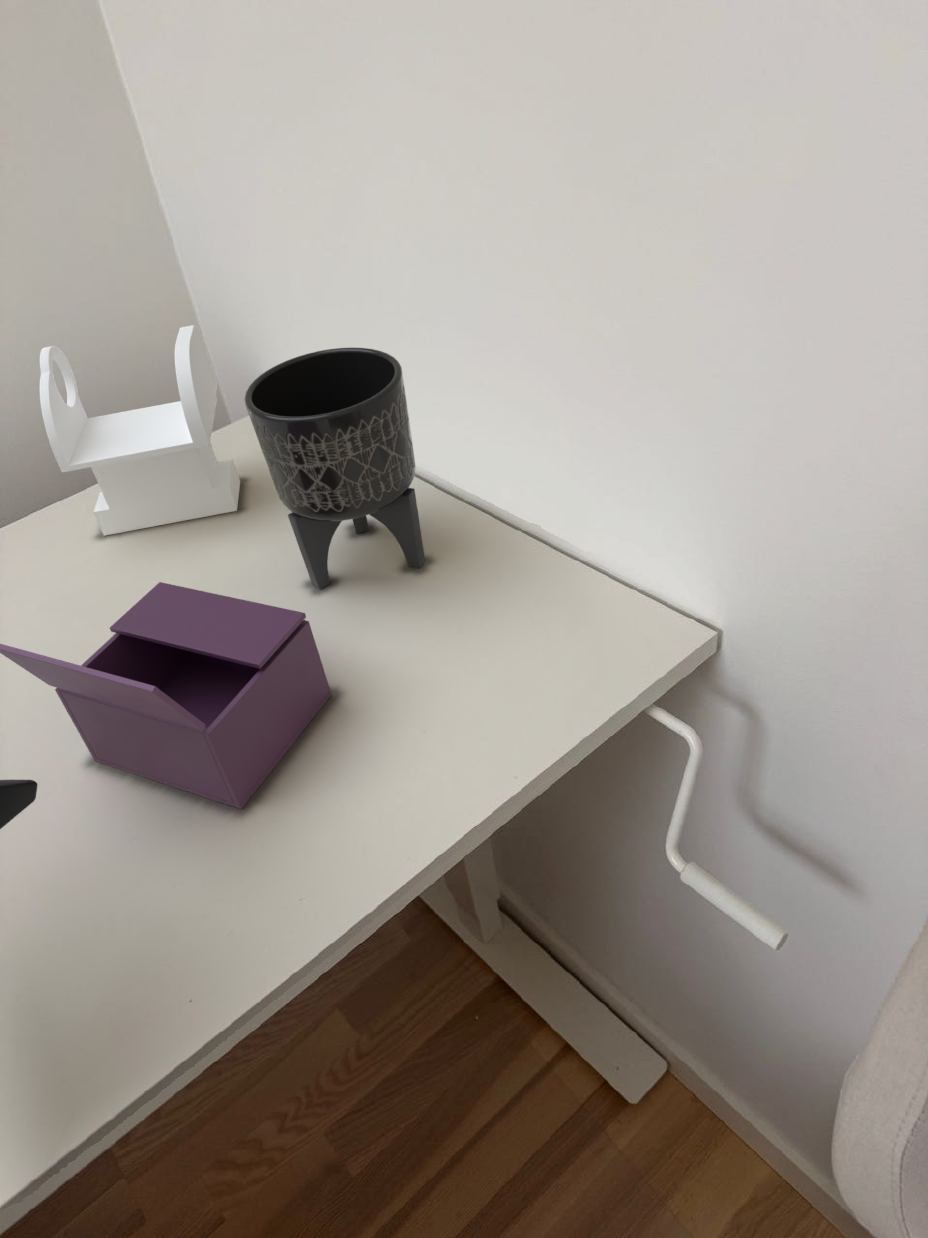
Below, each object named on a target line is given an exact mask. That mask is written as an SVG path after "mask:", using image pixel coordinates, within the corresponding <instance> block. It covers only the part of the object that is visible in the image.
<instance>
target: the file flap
mask: <svg viewBox="0 0 928 1238" xmlns="http://www.w3.org/2000/svg"><path fill="white" fill-rule="evenodd" d="M0 654H1V655H3V657H5V658H7V659H8V660H10V661H12V662H13V663H15V664H16V665H18V666H19V667H21V668H22V669H24V670H25V671H27V672H28V673H30V674H31V675H33V676H34V677H36V678H38V679H39V680H40V681H42V682H44V683H45V684H47V685H48V686H50V687H53V688H60V689H63V690H67V691H70V692H74V693H77V694H81V695H84V696H87V697H91V698H94V699H98V700H101V701H105V702H108V703H111V704H115V705H118V706H122V707H125V708H129V709H132V710H135V711H139V712H142V713H146V714H149V715H153V716H156V717H159V718H163V719H166V720H170V721H173V722H176V723H180V724H183V725H187V726H190V727H194V728H197V729H200V730H203V729H204V727H205V724H204V723H203V722H201V721H200V720H199V719H197V718H196V717H195V716H193V715H192V714H191V713H190V712H188V711H187V710H186V709H184V708H183V707H182V706H180V705H179V704H178V703H177V702H175V701H174V700H173V699H171V698H170V697H169V696H167V695H166V694H165V693H163V692H162V691H161V690H160V689H158V688H157V687H156V686H153V685H149V684H145V683H142V682H138V681H134V680H131V679H127V678H124V677H120V676H116V675H113V674H109V673H105V672H102V671H98V670H94V669H91V668H87V667H83V666H81V665H80V664H77V663H73V662H68V661H65V660H62V659H58V658H54V657H51V656H46V655H43V654H39V653H35V652H32V651H29V650H25V649H22V648H17V647H15V646H10V645H7V644H4V643H0Z"/></svg>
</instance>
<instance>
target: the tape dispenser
mask: <svg viewBox="0 0 928 1238" xmlns="http://www.w3.org/2000/svg"><path fill="white" fill-rule="evenodd" d="M174 344H175V345H174V369H175V377H176V383H177V389H178V394H179V400H178V401H173V402H167V403H163V404H158V405H152V406H147V407H141V408H136V409H130V410H125V411H124V410H123V411H120V412H115V413H108V414H104V415H99V416H93V417H88V415H87V413H86V410H85V408H84V406H83V404H82V401H81V399H80V394H79V389H78V385H77V384H78V383H77V380H76V377H75V374H74V372H73V371H74V370H73V368H72V366H71V364H70V362H69V359H68V358H67V356H66V354H65V353H64V351H63V350H61V348H60V347H58V346H56V345H50V346H45V347H43V348H42V349H41V350H40V352H39V371H40V377H39V402H40V410H41V415H42V421H43V425H44V430H45V432H46V437H47V439H48V443H49V445H50V449H51V450H52V453H53V455H54V458H55V460H56V463H57V465H58V467H59V469H60V471H61V473H67V472H73V471H78V470H83V469H89V468H90V469H91V470H92V473H93V475H94V477H95V480H96V482H97V484H98V486H99V489H100V490H99V491H100V492H99V494H98V497H97V501H96V503H95V506H94V509H93V515H94V517H95V519H96V521H97V524H98V526H99V528H100V530H101V533H102V535H103V537H104V536H109V535H116V534H120V533H126V532H130V531H136V530H142V529H147V528H152V527H157V526H162V525H169V524H173V523H179V522H185V521H189V520H195V519H200V518H206V517H211V516H217V515H220V514H226V513H227V514H228V513H232V512H237V511H238V505H239V496H240V488H241V480H240V477H239V474H238V471H237V468H236V465H235V461H234V459H233V458H229V459H223V460H217V457H216V453H215V451H214V448H213V445H212V443H211V438H212V434H213V427H214V423H215V422H214V421H215V416H216V412H217V411H216V410H217V404H218V396H217V391H218V390H217V389H218V384H219V382H218V379H217V376H216V372H215V369H214V366H213V363H212V360H211V357H210V355H209V351H208V348H207V345H206V341H205V339H204V336H203V334H202V331H201V329H200V328H199V326H198V325H197V324H191V325H186V326H181V327H179V329H178V333H177V336H176V340H175V343H174ZM54 362H55V364H56V365H57V367H58V369H59V371H60V373H61V376H62V378H63V379H62V380H63V382H64V385H65V386H64V387H65V390H66V402H65V401H64V399H63V396H62V395H61V393H60V390H59V389H58V388H59V387H58V385H57V382H56V379H55V375H54V367H53V365H54V364H53V363H54Z"/></svg>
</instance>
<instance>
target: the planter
mask: <svg viewBox="0 0 928 1238" xmlns="http://www.w3.org/2000/svg"><path fill="white" fill-rule="evenodd" d="M404 382H405V381H404V375H403V368H402V365H401V364H400V362H399V361H398V360H397V359H396V357H394V356H393V355H391V354H390V353H387V352H384V351H382V350H378V349H374V348H367V347H352V346H351V347H337V348H328V349H322V350H318V351H317V350H316V351H313V352H309V353H304V354H303V355H298V356H296V357H292V358H290V359H287V360H285V361H283V362H281V363H278V364H276V365H275V366H272V367H271V368H269V369H267V370H266V371H264V372H262V373H261V374H260V375H259V376H258V377H256V378H255V379H254V380H253V381H252V382H251V384H250V385H249V386H248V388H247V389H246V391H245V394H244V404H245V405H244V406H245V408H246V410H247V413H248V416H249V419H250V422H251V425H252V427H253V430H254V433H255V436H256V439H257V441H258V444H259V446H260V449H261V452H262V455H263V458H264V460H265V463H266V466H267V468H268V471H269V474H270V477H271V480H272V482H273V485H274V488H275V490H276V494H277V496H278V498H279V500H280V502H281V503H282V505H284V507H285V508H286V509H287V510H289V514H287V517H288V519H289V523H290V525H291V529H292V531H293V535H294V537H295V540H296V543H297V545H298V548H299V551H300V554H301V557H302V559H303V562H304V565H305V567H306V570H307V573H308V576H309V579H310V582H311V584H312V585H313V586H314V587H315V588H316V589H318V590H321V589H324V588H325V587H328V586H329V585H330V584H331V582H330V576H329V568H328V566H329V565H328V560H329V550H330V546H331V543H332V540H333V537H334V535H335V532H336V531H337V530H338V527H339V526H340V524H341V523H342V521H343V522H344V521H348V520H352V522H353V528H354V531H355V533H356V534H359V533H360V534H361V533H365V532H369V531H370V526H369V525H370V524H369V521H368V517H367V516H370V517H372V518H373V519H375V520H377V521H378V522H379V523H381V524H382V525H383V526H384V527H386V529H388V530H389V532H390V533H391V534H392V535H393V536H394V538H395V540H396V541H397V543H398V544H399V546H400V548H401V550H402V552H403V555H404V559H405V560H406V564H407V567H408V568H413V569H421V568H422V566H423V565H424V563H425V562H426V556H425V549H424V543H423V536H422V529H421V523H420V516H419V511H418V504H417V503H418V502H417V497H416V491H415V490H416V489H415V487H411V485H412V483H413V480H414V479H415V474H416V459H415V453H414V445H413V439H412V431H411V423H410V417H409V409H408V404H407V395H406V388H405V383H404Z"/></svg>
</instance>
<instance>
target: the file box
mask: <svg viewBox="0 0 928 1238" xmlns="http://www.w3.org/2000/svg"><path fill="white" fill-rule="evenodd" d="M306 618H307V615H306V613H305V612H302V611H297V610H293V609H287V608H283V607H279V606H274V605H269V604H265V603H260V602H255V601H250V600H247V599H246V600H245V599H241V598H236V597H232V596H228V595H223V594H218V593H213V592H208V591H205V590H199V589H194V588H190V587H185V586H180V585H175V584H170V583H166V582H162V581H159V582H158V583H157V584H155V585H154V587H152V589H150V590H149V591H148V592H146V594H144V595H143V597H142V598H140V599H139V600H138V601H137V602H136V603H134V605H132V607H131V608H129V609H128V610H127V611H126V612H125V613H124V614H122V616H120V618H119V619H117V620H116V621H115V622H114V623H113V624H112V625H111V626H110V627H109V630H110V632H111V633H114V634H113V635H112V636H111V637H110V638H109V639H108V640H107V641H105V643H103V644H102V645H101V646H100V647H99V648H98V649H97V650H96V651H95V652H94V653H92V655H90V657H88V659H86V660H85V661H84V662H83V663H82V664H81V665H80V666H83V667H87V668H91V669H94V670H98V671H102V672H105V673H109V674H113V675H116V676H120V677H124V678H127V679H131V680H134V681H138V682H142V683H145V684H149V685H153V686H156V687H157V688H158V689H160V690H161V691H162V692H163V693H165V694H166V695H167V696H169V697H170V698H171V699H173V700H174V701H175V702H177V703H178V704H179V705H180V706H182V707H183V708H184V709H186V710H187V711H188V712H190V713H191V714H192V715H193V716H195V717H196V718H197V719H199V720H200V721H201V722H203V723H204V724H205V727H204V729H203V730H200V729H197V728H194V727H190V726H187V725H183V724H180V723H176V722H173V721H170V720H166V719H163V718H159V717H156V716H153V715H149V714H146V713H142V712H139V711H135V710H132V709H129V708H125V707H122V706H118V705H115V704H111V703H108V702H105V701H101V700H98V699H94V698H91V697H87V696H84V695H81V694H77V693H74V692H70V691H67V690H63V689H60V688H57V687H55V689H54V691H55V692H56V695H57V696H58V698H59V700H60V701H61V704H62V705H63V707H64V709H65V710H66V712H67V714H68V716H69V717H70V719H71V722H72V723H73V725H74V726H75V728H76V730H77V732H78V734H79V735H80V737H81V739H82V741H83V743H84V744H85V746H86V748H87V750H88V752H89V754H90V756H91V757H92V759H93V760H94V762H97V763H100V764H103V765H105V766H108V767H111V768H114V769H117V770H121V771H124V772H126V773H130V774H132V775H136V776H139V777H142V778H145V779H148V780H151V781H154V782H157V783H160V784H163V785H165V786H169V787H172V788H175V789H178V790H182V791H185V792H188V793H191V794H194V795H197V796H200V797H202V798H206V799H207V800H208V799H209V800H211V801H215V802H217V803H220V804H224V805H227V806H230V807H233V808H236V809H238V810H242V809H243V808H244V807H245V806H246V804H247V803H248V802H249V801H250V800H251V798H252V797H253V795H254V794H255V793H256V792H257V791H258V789H259V788H260V786H261V785H262V784H264V781H265V780H266V779H267V778H268V777H269V775H270V774H271V773H272V772H273V770H274V769H275V768H276V767H277V765H278V764H279V762H280V761H281V760H282V759H283V757H284V756H285V755H286V754H287V752H288V751H289V750H290V749H291V747H292V746H293V745H294V744H295V742H296V741H297V740H298V738H299V737H300V736H301V735H302V733H303V732H304V731H305V729H306V728H307V727H308V726H309V725H310V723H311V722H312V721H313V719H314V718H315V717H316V716H317V714H318V713H319V712H320V711H321V710H322V708H323V707H324V705H325V704H326V703H327V702H328V700H329V699H330V698H331V697H332V691H331V688H330V685H329V682H328V679H327V678H328V677H327V675H326V672H325V669H324V666H323V663H322V659H321V655H320V653H319V650H318V647H317V642H316V639H315V637H314V633H313V630H312V627H311V624H310V621H309V620H305V619H306Z"/></svg>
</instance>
